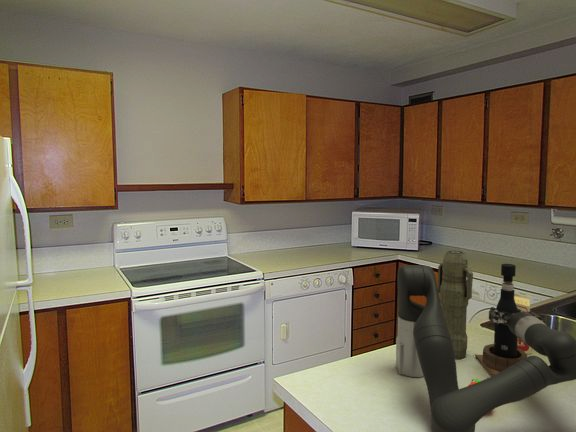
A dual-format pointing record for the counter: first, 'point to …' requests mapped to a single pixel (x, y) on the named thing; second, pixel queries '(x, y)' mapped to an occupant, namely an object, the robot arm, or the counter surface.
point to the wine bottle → (503, 336)
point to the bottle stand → (497, 360)
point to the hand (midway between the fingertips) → (503, 310)
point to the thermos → (455, 297)
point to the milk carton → (524, 305)
